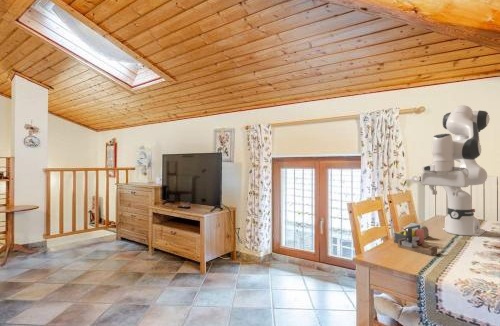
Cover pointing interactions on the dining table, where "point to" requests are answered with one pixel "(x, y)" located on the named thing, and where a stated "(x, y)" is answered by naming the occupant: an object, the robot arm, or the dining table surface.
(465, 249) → the dining table surface
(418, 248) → the track
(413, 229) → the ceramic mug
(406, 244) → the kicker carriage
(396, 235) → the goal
